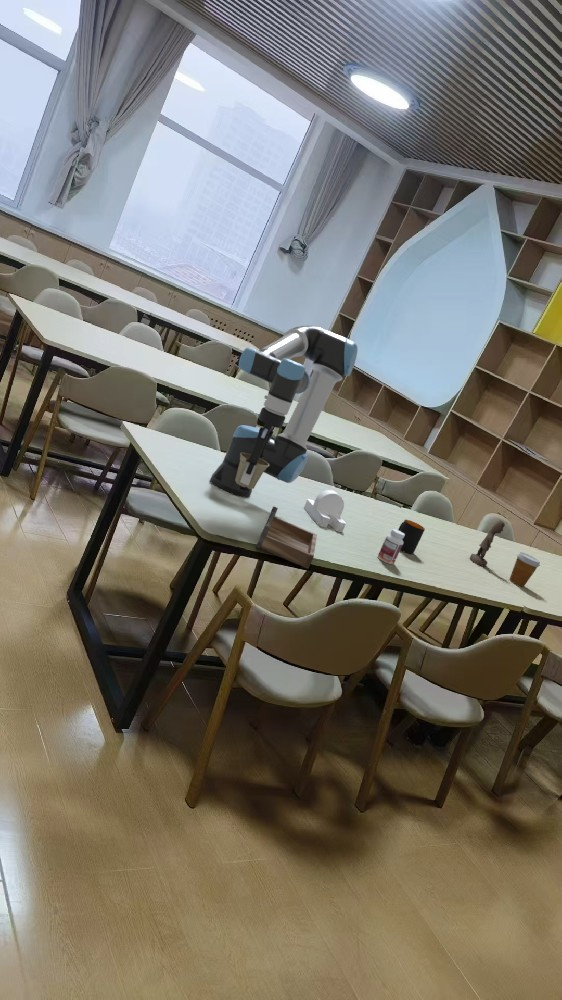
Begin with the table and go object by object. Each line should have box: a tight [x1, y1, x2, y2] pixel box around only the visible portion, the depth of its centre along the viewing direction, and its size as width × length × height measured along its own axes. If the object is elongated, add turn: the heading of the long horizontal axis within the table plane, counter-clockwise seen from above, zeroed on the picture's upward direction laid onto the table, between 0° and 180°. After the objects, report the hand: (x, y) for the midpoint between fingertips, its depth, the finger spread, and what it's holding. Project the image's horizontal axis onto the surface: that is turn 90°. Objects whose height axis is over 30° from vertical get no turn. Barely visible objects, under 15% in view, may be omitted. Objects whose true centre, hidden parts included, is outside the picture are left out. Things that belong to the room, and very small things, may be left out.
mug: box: [397, 519, 426, 555], centre depth 286 cm, size 8×12×10 cm
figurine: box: [469, 519, 506, 567], centre depth 314 cm, size 9×8×20 cm
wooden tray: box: [255, 506, 318, 570], centre depth 227 cm, size 25×16×7 cm, turn 174°
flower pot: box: [235, 453, 269, 490], centre depth 227 cm, size 9×9×9 cm
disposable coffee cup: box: [509, 552, 541, 588], centre depth 307 cm, size 10×10×12 cm
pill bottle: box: [377, 528, 405, 565], centre depth 258 cm, size 6×6×11 cm
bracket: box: [303, 489, 347, 533], centre depth 277 cm, size 19×10×11 cm, turn 16°
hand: (246, 480), depth 228 cm, fingers closed on flower pot, 9 cm apart
